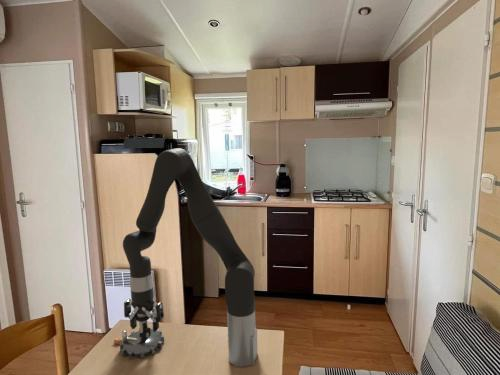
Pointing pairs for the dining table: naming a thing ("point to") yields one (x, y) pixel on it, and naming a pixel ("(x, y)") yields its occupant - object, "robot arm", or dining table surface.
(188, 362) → the dining table surface
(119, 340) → the pointer block
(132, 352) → the sprocket wheel
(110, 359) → the dining table surface
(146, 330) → the push button
